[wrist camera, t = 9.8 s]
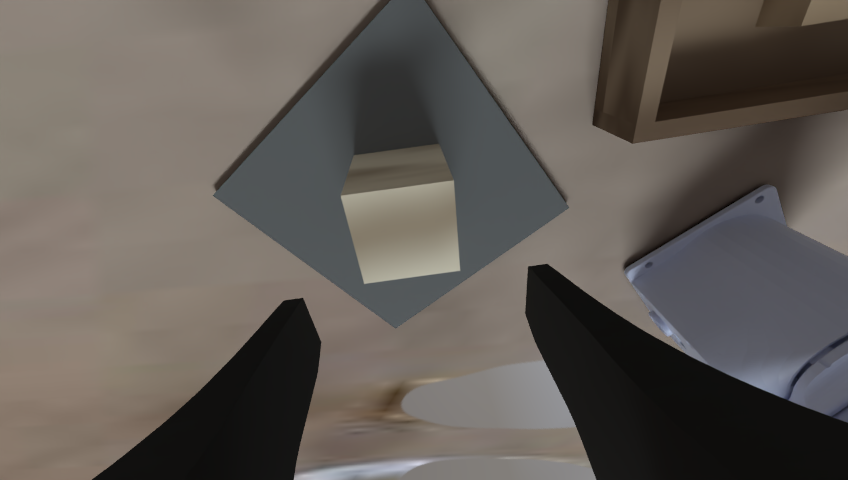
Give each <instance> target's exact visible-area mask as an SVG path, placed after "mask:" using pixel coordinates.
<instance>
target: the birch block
mask: <svg viewBox="0 0 848 480" xmlns="http://www.w3.org/2000/svg"><path fill="white" fill-rule="evenodd" d="M341 199H342V203H343V207H344V210H345V214H346V218H347V221H348V225H349V229H350V233H351V236H352V240H353V244H354V247H355V251H356V255H357V259H358V262H359V266H360V270H361V274H362V277H363V281H364V284H367V283H374V282H381V281H389V280H396V279H403V278H411V277H418V276H425V275H432V274H440V273H447V272H454V271H460V261H459V247H458V233H457V218H456V204H455V190H454V179H453V177H452V175H451V172H450V170H449V167H448V165H447V162H446V160H445V157H444V155H443V152H442V150H441V147H440V145H439V144H433V145H426V146H418V147H411V148H404V149H396V150H389V151H382V152H374V153H367V154H359V155H354V156H353V159H352V162H351V165H350V168H349V171H348V175H347V178H346V181H345V184H344V187H343V190H342V193H341Z"/></svg>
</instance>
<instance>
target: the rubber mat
mask: <svg viewBox="0 0 848 480" xmlns="http://www.w3.org/2000/svg"><path fill="white" fill-rule="evenodd" d="M433 144H439V145H440V147H441V150H442V152H443V155H444V157H445V160H446V162H447V165H448V167H449V170H450V172H451V175H452V177H453V179H454V190H455V204H456V218H457V233H458V247H459V261H460V271H454V272H447V273H440V274H432V275H425V276H418V277H411V278H403V279H396V280H389V281H381V282H374V283H367V284H364V281H363V277H362V274H361V270H360V266H359V262H358V259H357V255H356V251H355V247H354V244H353V240H352V236H351V233H350V229H349V225H348V221H347V218H346V214H345V210H344V207H343V203H342V199H341V193H342V190H343V187H344V184H345V181H346V178H347V175H348V171H349V168H350V165H351V162H352V159H353V156H354V155H359V154H367V153H374V152H382V151H389V150H396V149H404V148H411V147H418V146H426V145H433ZM213 196H214V197H215V198H217V199H218V200H220V201H221V202H222V203H224V204H225V205H226V206H228V207H229V208H231V209H232V210H233V211H235V212H236V213H237V214H239V215H240V216H242V217H243V218H244V219H246V220H247V221H248V222H250V223H251V224H253V225H254V226H255V227H257V228H258V229H259V230H261V231H262V232H264V233H265V234H266V235H268V236H269V237H270V238H272V239H273V240H275V241H276V242H277V243H279V244H280V245H281V246H283V247H284V248H286V249H287V250H288V251H290V252H291V253H292V254H294V255H295V256H297V257H298V258H299V259H301V260H302V261H303V262H305V263H306V264H308V265H309V266H310V267H312V268H313V269H314V270H316V271H317V272H319V273H320V274H321V275H323V276H324V277H325V278H327V279H328V280H330V281H331V282H332V283H334V284H335V285H336V286H338V287H339V288H341V289H342V290H343V291H345V292H346V293H347V294H349V295H350V296H352V297H353V298H354V299H356V300H357V301H358V302H360V303H361V304H363V305H364V306H365V307H367V308H368V309H369V310H371V311H372V312H374V313H375V314H376V315H378V316H379V317H381V318H382V319H383V320H385V321H386V322H387V323H389V324H390V325H392V326H393V327H394V328H397V327H398V326H400V325H401V324H403V323H404V322H406V321H407V320H408V319H410V318H411V317H413V316H414V315H416V314H417V313H418V312H420V311H421V310H423V309H424V308H426V307H427V306H429V305H430V304H431V303H433V302H434V301H436V300H437V299H439V298H440V297H441V296H443V295H444V294H446V293H447V292H449V291H450V290H452V289H453V288H454V287H456V286H457V285H459V284H460V283H462V282H463V281H465V280H466V279H467V278H469V277H470V276H472V275H473V274H475V273H476V272H477V271H479V270H480V269H482V268H483V267H485V266H486V265H488V264H489V263H490V262H492V261H493V260H495V259H496V258H498V257H499V256H500V255H502V254H503V253H505V252H506V251H508V250H509V249H511V248H512V247H513V246H515V245H516V244H518V243H519V242H521V241H522V240H523V239H525V238H526V237H528V236H529V235H531V234H532V233H534V232H535V231H536V230H538V229H539V228H541V227H542V226H544V225H545V224H546V223H548V222H549V221H551V220H552V219H554V218H555V217H557V216H558V215H559V214H561V213H562V212H564V211H565V210H567V209H568V208H569V207H568V205H567V204H566V202H565V201H564V200H563V198H562V197H561V195H560V194H559V192H558V191H557V190H556V188H555V187H554V185H553V184H552V182H551V181H550V180H549V178H548V177H547V175H546V174H545V172H544V171H543V170H542V168H541V167H540V165H539V164H538V162H537V161H536V159H535V158H534V157H533V155H532V154H531V152H530V151H529V149H528V148H527V147H526V145H525V144H524V142H523V141H522V139H521V138H520V137H519V135H518V134H517V132H516V131H515V129H514V128H513V127H512V125H511V124H510V122H509V121H508V119H507V118H506V116H505V115H504V114H503V112H502V111H501V109H500V108H499V106H498V105H497V104H496V102H495V101H494V99H493V98H492V96H491V95H490V94H489V92H488V91H487V89H486V88H485V86H484V85H483V84H482V82H481V81H480V79H479V78H478V76H477V75H476V73H475V72H474V71H473V69H472V68H471V66H470V65H469V63H468V62H467V61H466V59H465V58H464V56H463V55H462V53H461V52H460V51H459V49H458V48H457V46H456V45H455V43H454V42H453V41H452V39H451V38H450V36H449V35H448V33H447V32H446V30H445V29H444V28H443V26H442V25H441V23H440V22H439V20H438V19H437V18H436V16H435V15H434V13H433V12H432V10H431V9H430V8H429V6H428V5H427V3H426V2H425V0H390V1H389V3H388V4H387V5H386V6H385V7H384V8H383V9H382V10H381V11H380V12H379V14H378V15H377V16H376V17H375V18H374V19H373V20H372V21H371V22H370V23H369V25H368V26H367V27H366V28H365V29H364V30H363V31H362V32H361V33H360V34H359V36H358V37H357V38H356V39H355V40H354V41H353V42H352V43H351V44H350V45H349V47H348V48H347V49H346V50H345V51H344V52H343V53H342V54H341V55H340V56H339V57H338V59H337V60H336V61H335V62H334V63H333V64H332V65H331V66H330V67H329V68H328V70H327V71H326V72H325V73H324V74H323V75H322V76H321V77H320V78H319V79H318V81H317V82H316V83H315V84H314V85H313V86H312V87H311V88H310V89H309V90H308V92H307V93H306V94H305V95H304V96H303V97H302V98H301V99H300V100H299V101H298V103H297V104H296V105H295V106H294V107H293V108H292V109H291V110H290V111H289V112H288V114H287V115H286V116H285V117H284V118H283V119H282V120H281V121H280V122H279V123H278V124H277V126H276V127H275V128H274V129H273V130H272V131H271V132H270V133H269V134H268V135H267V137H266V138H265V139H264V140H263V141H262V142H261V143H260V144H259V145H258V146H257V148H256V149H255V150H254V151H253V152H252V153H251V154H250V155H249V156H248V157H247V159H246V160H245V161H244V162H243V163H242V164H241V165H240V166H239V167H238V168H237V170H236V171H235V172H234V173H233V174H232V175H231V176H230V177H229V178H228V179H227V181H226V182H225V183H224V184H223V185H222V186H221V187H220V188H219V189H218V190H217V191H216V193H215V194H214V195H213Z"/></svg>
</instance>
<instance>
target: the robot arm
mask: <svg viewBox="0 0 848 480" xmlns="http://www.w3.org/2000/svg"><path fill="white" fill-rule="evenodd" d="M624 273H625V275H626V277H627V278H628V280H629V281H630V283H631V284H632V286H633V287H634V289H635V290H636V291H637V293H638V294H639V296H640V297H641V299H642V300H643V302H644V303H645V305H646V306H647V308H648V309H649V311H650V312H649V313H648V314H649V316H650V317H651V319H652V320H653V321H654V323H655V324H656V325H657V326H658V327H659V329H660V330H661V331H662V332H663V333H664V334H665V335H666V336H670V337H671V338H672V339H673V340H674V341H675V342H676V343H677V344H678V345H679V347H680V348H681V349H682V350H683V351H684V352H685V353H686V354H685V353H683V352H681V351H679V350H677V349H675V348H673V347H672V346H670V345H668V344H666V343H664V342H663V341H661V340H659V339H657V338H655V337H653V336H652V335H650V334H648V333H647V332H645V331H643V330H641V329H640V328H638V327H637V326H635V325H633V324H632V323H630V322H629V321H627V320H625V319H624V318H622V317H621V316H619V315H618V314H616V313H615V312H613V311H612V310H610V309H609V308H607V307H606V306H604V305H603V304H601V303H600V302H598V301H597V300H596V299H594V298H593V297H591V296H590V295H588V294H587V293H586V292H584V291H583V290H582V289H580V288H579V287H578V286H576V285H575V284H574V283H572V282H571V281H570V280H568V279H567V278H566V277H564V276H563V275H562V274H560V273H559V272H558V271H556V270H555V269H554V268H552V267H551V266H549V265H548V264H543V265H536V266H529V267H528V278H527V295H526V311H525V314H526V317H527V320H528V323H529V326H530V329H531V332H532V334H533V337H534V340H535V342H536V344H537V347H538V349H539V351H540V353H541V355H542V357H543V359H544V361H545V363H546V365H547V367H548V369H549V371H550V373H551V375H552V377H553V379H554V381H555V383H556V384H557V387H558V389H559V391H560V393H561V394H562V397H563V399H564V401H565V403H566V405H567V407H568V409H569V411H570V413H571V416H572V418H573V420H574V422H575V425H576V427H577V430H578V432H579V435H580V437H581V440H582V443H583V445H584V448H585V450H586V453H587V455H588V458H589V461H590V464H591V466H592V469H593V472H594V474H595V476H596V480H848V256H846V255H844V254H842V253H840V252H838V251H836V250H834V249H832V248H830V247H828V246H826V245H824V244H822V243H820V242H818V241H816V240H814V239H811V238H809V237H807V236H805V235H803V234H801V233H799V232H797V231H795V230H793V229H791V228H789V227H787V225H786V221H785V218H784V214H783V210H782V207H781V203H780V199H779V196H778V192H777V189H776V187H774V186H772V185H769V184H767V185H763V186H761V187H759V188H758V189H756V190H754V191H753V192H751V193H749V194H748V195H746V196H744V197H743V198H741V199H739V200H738V201H736V202H734V203H733V204H731V205H729V206H728V207H726V208H724V209H723V210H721V211H719V212H718V213H716V214H714V215H713V216H711V217H709V218H708V219H706V220H704V221H703V222H701V223H699V224H698V225H696V226H694V227H693V228H691V229H689V230H688V231H686V232H685V233H683V234H681V235H680V236H678V237H676V238H675V239H673V240H671V241H670V242H668V243H666V244H665V245H663V246H661V247H660V248H658V249H656V250H655V251H653V252H651V253H650V254H648V255H646V256H645V257H643V258H641V259H640V260H638V261H636V262H635V263H633V264H631V265H630V266H628V267H627V268H626V269H625V272H624ZM320 348H321V341H320V338H319V336H318V333H317V331H316V328H315V326H314V324H313V321H312V319H311V316H310V314H309V311H308V309H307V307H306V304H305V302H304V299H303V298H300V299H292V300H285V301H283V302H282V303H281V304H280V305H279V306H278V308H277V309H276V310H275V311H274V312H273V313H272V314H271V315H270V317H269V318H268V319H267V320H266V321H265V322H264V323H263V324H262V326H261V327H260V328H259V329H258V330H257V331H256V332H255V333H254V335H253V336H252V337H251V338H250V339H249V340H248V341H247V342H246V343H245V345H244V346H243V347H242V348H241V349H240V350H239V351H238V352H237V353H236V354H235V355H234V356H233V358H232V359H231V360H230V361H229V362H228V363H227V364H226V365H225V366H224V367H223V368H222V369H221V370H220V371H219V372H218V373H217V374H216V375H215V376H214V377H213V378H212V379H211V380H210V381H209V382H208V383H207V384H206V385H205V386H204V387H203V388H202V389H201V390H200V391H199V392H198V393H197V394H196V395H195V396H193V397H192V398H191V399H190V400H189V401H188V402H187V403H186V404H185V405H184V406H182V407H181V408H180V409H179V410H178V411H177V412H176V413H175V414H174V415H172V416H171V417H170V418H169V419H168V420H167V421H166V422H164V423H163V424H162V425H161V426H160V427H158V428H157V429H156V430H155V431H153V432H152V433H151V434H150V435H148V436H147V437H146V438H145V439H144V440H142V441H141V442H140V443H139V444H137V445H136V446H135V447H134V448H132V449H131V450H130V451H129V452H128V453H126V454H125V455H124V456H123V457H121V458H120V459H119V460H117V461H116V462H115V463H114V464H112V465H111V466H110V467H108V468H107V469H106V470H104V471H103V472H102V473H100V474H99V475H98V476H96V477H95V478H94V479H92V480H294V473H295V467H296V461H297V456H298V451H299V446H300V442H301V438H302V434H303V430H304V426H305V422H306V418H307V414H308V410H309V406H310V402H311V398H312V394H313V390H314V386H315V382H316V378H317V373H318V366H319V358H320Z"/></svg>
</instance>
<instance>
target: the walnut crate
mask: <svg viewBox="0 0 848 480" xmlns="http://www.w3.org/2000/svg"><path fill="white" fill-rule="evenodd" d="M842 110H848V0H609V1H608V9H607V17H606V25H605V32H604V40H603V48H602V56H601V63H600V71H599V79H598V86H597V94H596V102H595V110H594V117H593V125H594V126H596V127H598V128H600V129H603V130H605V131H607V132H609V133H611V134H613V135H615V136H618V137H620V138H622V139H624V140H626V141H628V142H630V143H632V144H633V143H639V142H646V141H652V140H658V139H665V138H671V137H677V136H684V135H690V134H696V133H703V132H709V131H715V130H722V129H728V128H734V127H741V126H747V125H753V124H760V123H766V122H772V121H779V120H785V119H791V118H798V117H804V116H810V115H816V114H823V113H829V112H835V111H842Z"/></svg>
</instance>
